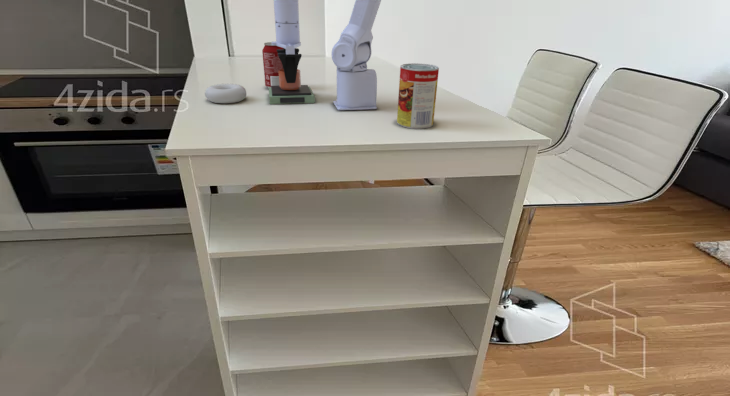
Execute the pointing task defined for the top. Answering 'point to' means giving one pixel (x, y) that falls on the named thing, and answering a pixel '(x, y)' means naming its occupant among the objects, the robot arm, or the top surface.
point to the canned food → (417, 95)
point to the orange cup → (289, 86)
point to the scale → (291, 95)
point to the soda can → (271, 64)
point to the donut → (225, 93)
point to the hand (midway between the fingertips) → (290, 80)
